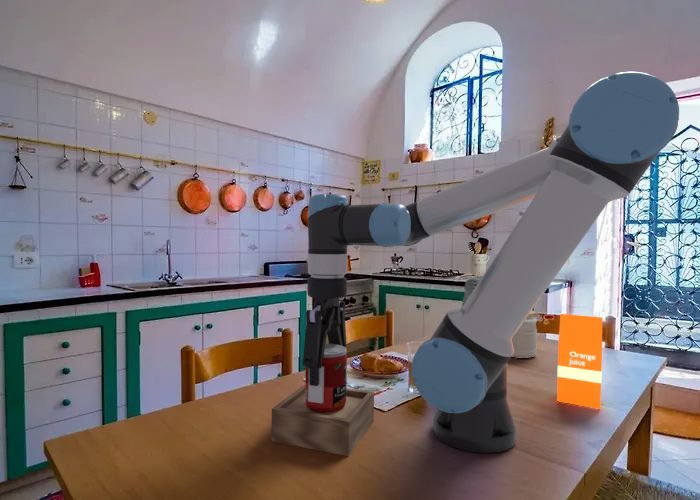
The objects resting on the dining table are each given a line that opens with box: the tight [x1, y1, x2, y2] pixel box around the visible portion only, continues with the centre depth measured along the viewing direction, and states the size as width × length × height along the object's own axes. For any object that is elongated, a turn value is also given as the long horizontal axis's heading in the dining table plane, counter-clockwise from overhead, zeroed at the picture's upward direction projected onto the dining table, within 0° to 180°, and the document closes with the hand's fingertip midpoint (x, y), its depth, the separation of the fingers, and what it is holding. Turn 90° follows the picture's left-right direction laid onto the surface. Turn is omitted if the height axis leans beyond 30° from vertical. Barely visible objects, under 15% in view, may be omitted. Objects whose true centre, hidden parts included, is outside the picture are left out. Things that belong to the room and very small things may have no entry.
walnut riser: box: [270, 384, 375, 457], centre depth 83 cm, size 15×15×6 cm
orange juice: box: [556, 313, 603, 410], centre depth 100 cm, size 8×9×20 cm
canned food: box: [304, 343, 348, 412], centre depth 82 cm, size 8×8×11 cm
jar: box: [512, 310, 538, 358], centre depth 140 cm, size 13×13×18 cm
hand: (325, 393), depth 82 cm, fingers open, 8 cm apart
